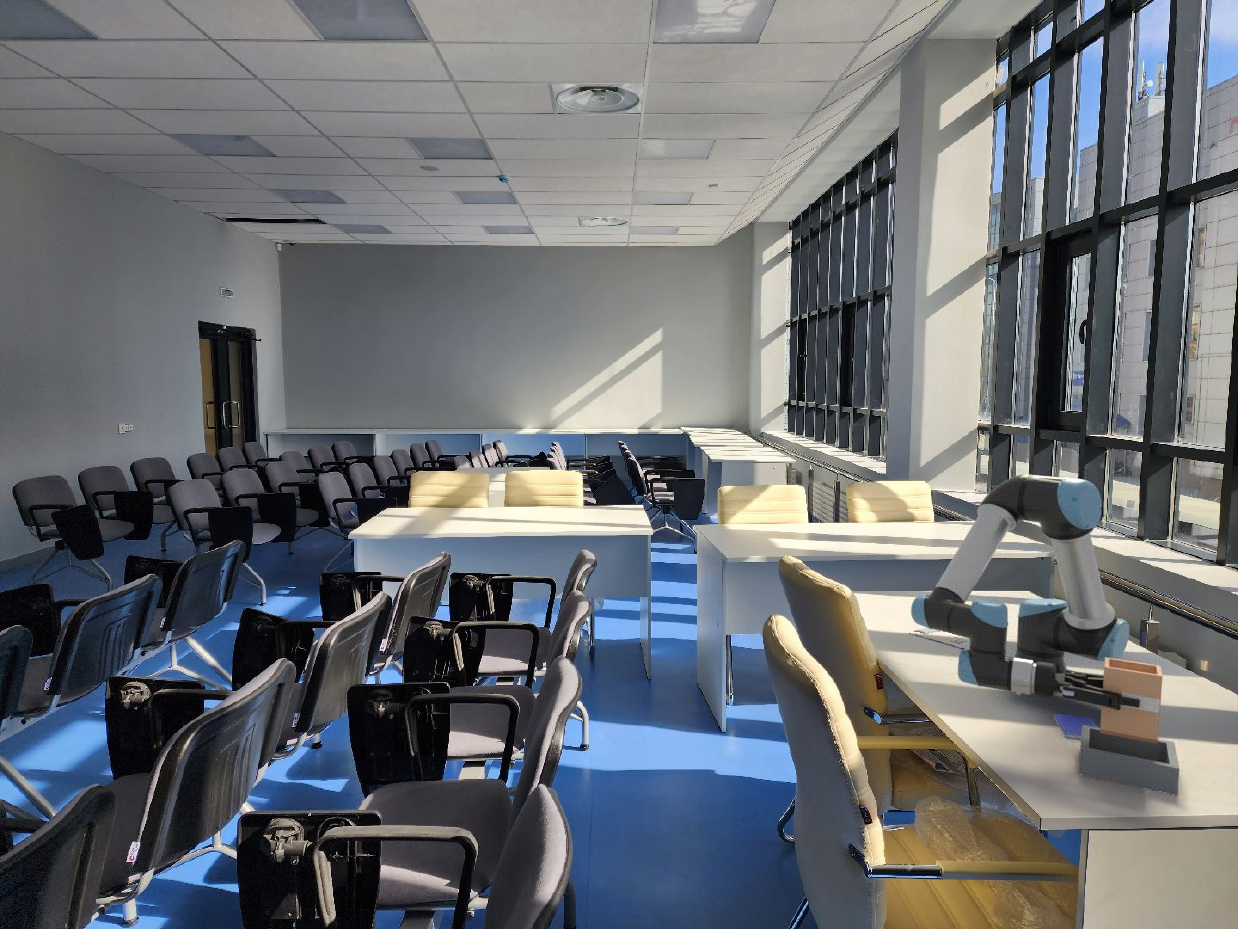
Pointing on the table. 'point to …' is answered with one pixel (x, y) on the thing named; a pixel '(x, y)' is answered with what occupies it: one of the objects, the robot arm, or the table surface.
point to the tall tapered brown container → (1131, 681)
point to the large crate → (1129, 761)
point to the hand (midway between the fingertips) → (1158, 699)
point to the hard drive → (1072, 725)
